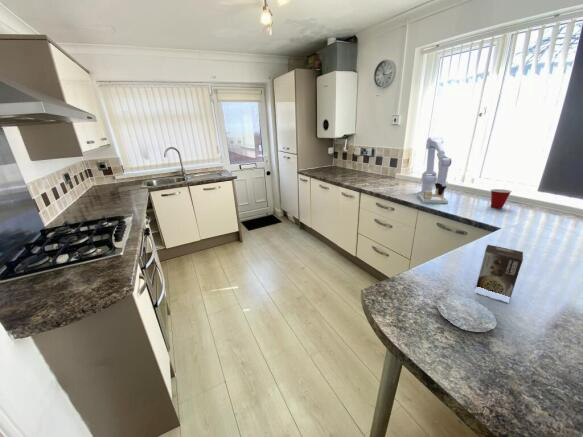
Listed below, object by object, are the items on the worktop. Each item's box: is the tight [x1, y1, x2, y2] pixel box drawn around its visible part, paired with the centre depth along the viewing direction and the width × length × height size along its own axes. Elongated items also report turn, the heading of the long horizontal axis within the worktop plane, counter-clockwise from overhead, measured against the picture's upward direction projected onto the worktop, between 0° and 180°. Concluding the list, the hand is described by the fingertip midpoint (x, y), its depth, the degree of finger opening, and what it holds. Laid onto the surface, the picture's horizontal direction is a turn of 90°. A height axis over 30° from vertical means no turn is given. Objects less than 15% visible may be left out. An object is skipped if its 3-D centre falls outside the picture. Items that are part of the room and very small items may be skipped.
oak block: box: [424, 191, 433, 199], centre depth 185 cm, size 4×4×5 cm
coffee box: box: [475, 244, 524, 298], centre depth 79 cm, size 9×6×16 cm
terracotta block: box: [434, 188, 446, 197], centre depth 177 cm, size 4×4×5 cm
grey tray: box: [417, 192, 449, 205], centre depth 183 cm, size 18×16×2 cm
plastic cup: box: [490, 188, 512, 210], centre depth 161 cm, size 11×11×12 cm
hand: (438, 193), depth 178 cm, fingers closed on terracotta block, 4 cm apart
